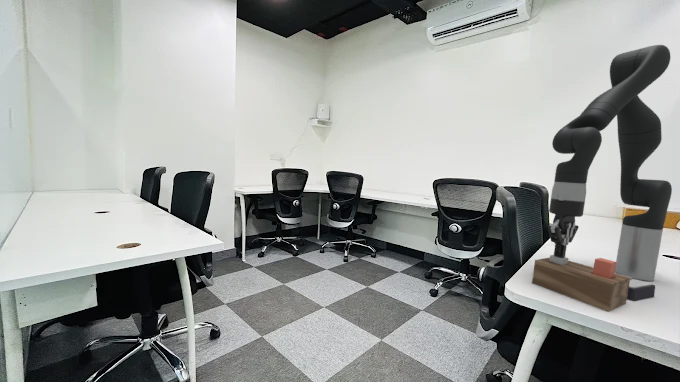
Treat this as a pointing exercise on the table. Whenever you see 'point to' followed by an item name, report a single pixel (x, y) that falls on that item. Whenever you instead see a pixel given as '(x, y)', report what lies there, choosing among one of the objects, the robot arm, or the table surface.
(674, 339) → the table surface
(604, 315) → the table surface
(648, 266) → the robot arm
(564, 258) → the grey plug
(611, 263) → the red plug
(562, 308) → the table surface
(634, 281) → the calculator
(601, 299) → the block
